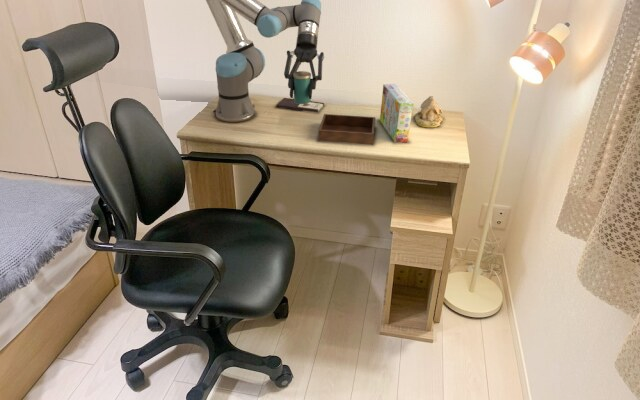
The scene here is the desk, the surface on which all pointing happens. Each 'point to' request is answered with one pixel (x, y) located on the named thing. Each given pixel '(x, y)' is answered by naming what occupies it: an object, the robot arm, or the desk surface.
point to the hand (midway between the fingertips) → (300, 96)
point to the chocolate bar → (300, 105)
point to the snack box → (396, 112)
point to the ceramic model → (429, 114)
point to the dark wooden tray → (347, 129)
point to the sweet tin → (301, 87)
